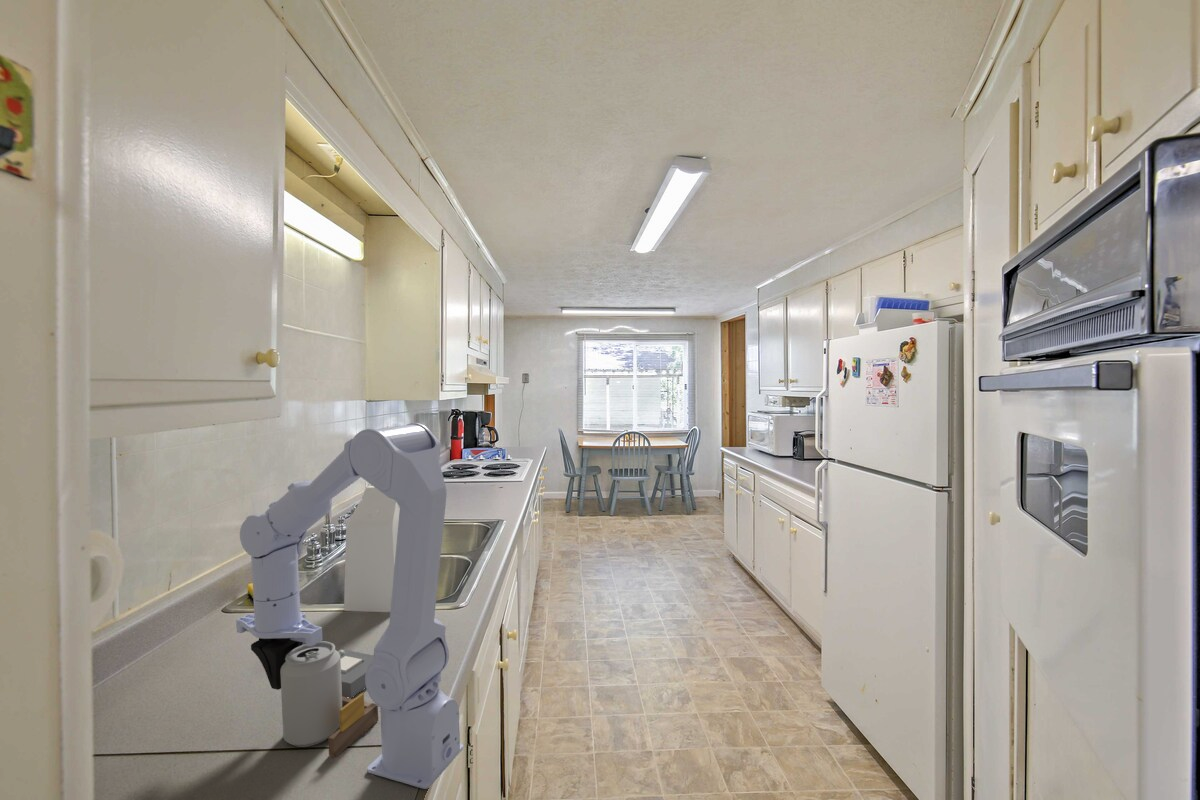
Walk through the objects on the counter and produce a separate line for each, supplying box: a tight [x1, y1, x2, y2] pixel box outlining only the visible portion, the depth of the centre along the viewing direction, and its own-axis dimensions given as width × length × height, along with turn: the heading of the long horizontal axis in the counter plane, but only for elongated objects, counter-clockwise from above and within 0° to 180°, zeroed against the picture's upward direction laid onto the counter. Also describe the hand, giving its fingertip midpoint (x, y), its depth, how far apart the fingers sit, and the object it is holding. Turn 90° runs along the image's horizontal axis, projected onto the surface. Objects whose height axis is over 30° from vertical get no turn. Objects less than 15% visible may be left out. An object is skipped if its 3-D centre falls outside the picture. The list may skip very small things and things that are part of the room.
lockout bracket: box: [327, 692, 379, 758], centre depth 77 cm, size 10×8×6 cm
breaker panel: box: [337, 648, 374, 699], centre depth 90 cm, size 10×8×3 cm
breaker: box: [341, 656, 362, 674], centre depth 90 cm, size 4×4×2 cm
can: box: [280, 640, 342, 748], centre depth 76 cm, size 8×8×12 cm
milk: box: [343, 485, 400, 613], centre depth 122 cm, size 12×12×26 cm
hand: (281, 685), depth 78 cm, fingers closed
